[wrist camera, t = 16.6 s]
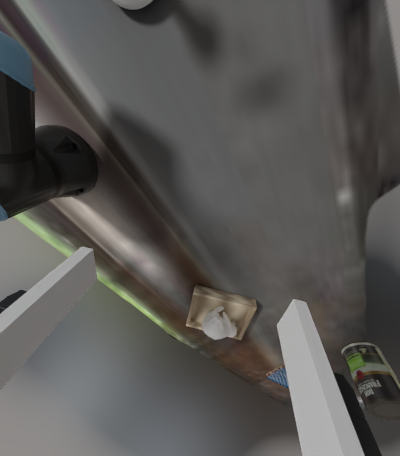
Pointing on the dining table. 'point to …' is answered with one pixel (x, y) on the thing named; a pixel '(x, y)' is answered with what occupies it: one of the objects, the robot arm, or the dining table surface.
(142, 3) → the flower in vase
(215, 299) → the birch tray
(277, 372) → the woven mat
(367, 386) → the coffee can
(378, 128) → the dining table surface
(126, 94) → the dining table surface
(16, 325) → the robot arm
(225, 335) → the white rounded lump
